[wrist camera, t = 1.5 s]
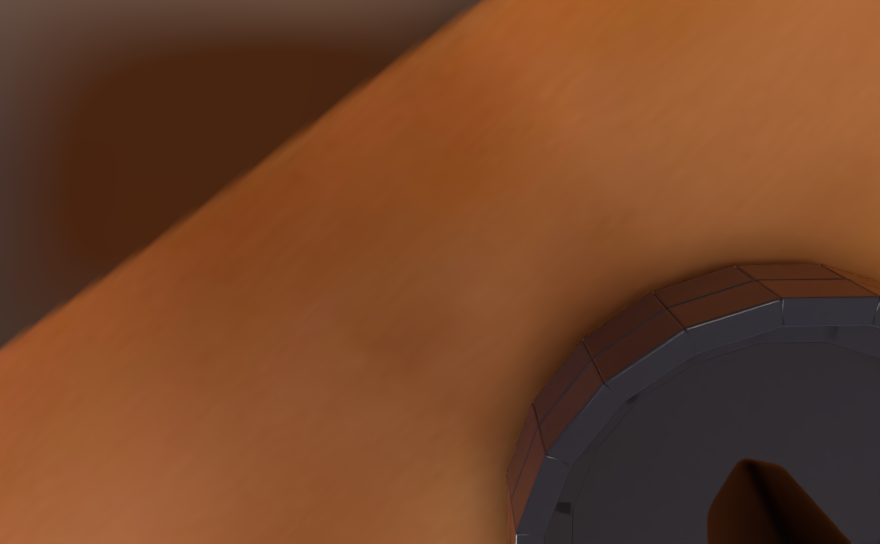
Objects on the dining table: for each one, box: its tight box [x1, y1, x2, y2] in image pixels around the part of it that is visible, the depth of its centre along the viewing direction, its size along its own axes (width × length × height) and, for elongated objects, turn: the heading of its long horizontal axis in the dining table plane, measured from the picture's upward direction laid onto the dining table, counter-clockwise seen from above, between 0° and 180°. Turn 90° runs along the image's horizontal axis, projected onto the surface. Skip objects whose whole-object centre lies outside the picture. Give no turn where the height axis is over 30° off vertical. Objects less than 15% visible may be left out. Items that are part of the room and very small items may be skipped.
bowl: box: [506, 264, 880, 544], centre depth 24 cm, size 16×16×4 cm
